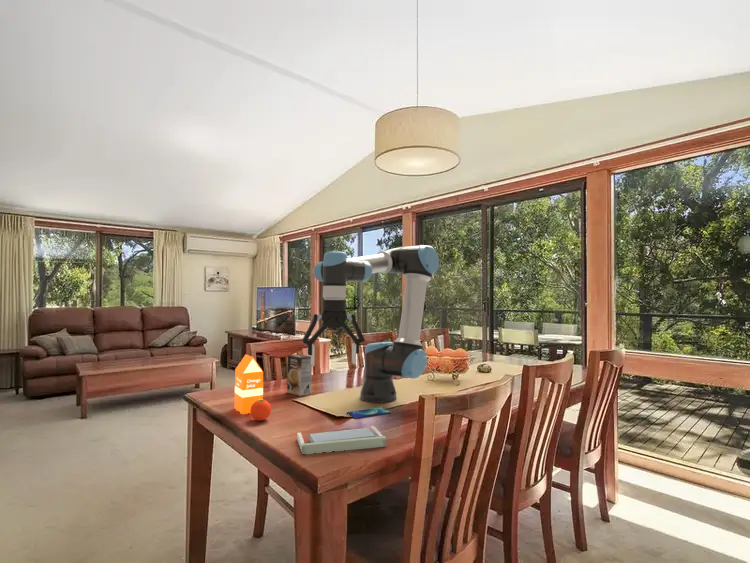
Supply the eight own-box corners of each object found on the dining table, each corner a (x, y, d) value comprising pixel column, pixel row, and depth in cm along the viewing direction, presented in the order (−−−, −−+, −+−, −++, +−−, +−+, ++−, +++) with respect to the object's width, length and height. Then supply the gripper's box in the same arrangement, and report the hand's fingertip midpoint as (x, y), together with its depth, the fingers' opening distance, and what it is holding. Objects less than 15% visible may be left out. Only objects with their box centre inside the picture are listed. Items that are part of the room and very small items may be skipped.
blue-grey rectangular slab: (367, 436, 129) (367, 428, 129) (374, 444, 123) (374, 435, 123) (309, 442, 123) (309, 434, 123) (314, 451, 117) (314, 442, 117)
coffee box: (286, 392, 180) (287, 355, 181) (298, 389, 185) (298, 353, 185) (300, 396, 174) (300, 357, 175) (311, 393, 179) (312, 355, 180)
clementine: (249, 417, 145) (249, 396, 145) (269, 415, 147) (269, 395, 147) (250, 424, 137) (251, 402, 137) (272, 422, 140) (272, 401, 140)
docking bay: (373, 432, 131) (374, 424, 131) (386, 446, 120) (386, 437, 120) (297, 439, 124) (297, 431, 124) (302, 454, 113) (302, 445, 113)
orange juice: (254, 405, 159) (255, 353, 160) (262, 411, 152) (264, 356, 153) (233, 408, 155) (234, 355, 155) (241, 414, 148) (242, 358, 148)
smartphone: (345, 412, 151) (380, 406, 158) (345, 414, 151) (380, 409, 158) (355, 418, 144) (391, 411, 152) (355, 420, 144) (391, 414, 152)
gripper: (367, 299, 143) (367, 360, 142) (294, 298, 135) (293, 364, 135) (374, 299, 135) (373, 364, 135) (297, 299, 128) (296, 368, 128)
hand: (333, 364), depth 135 cm, fingers open, 13 cm apart
